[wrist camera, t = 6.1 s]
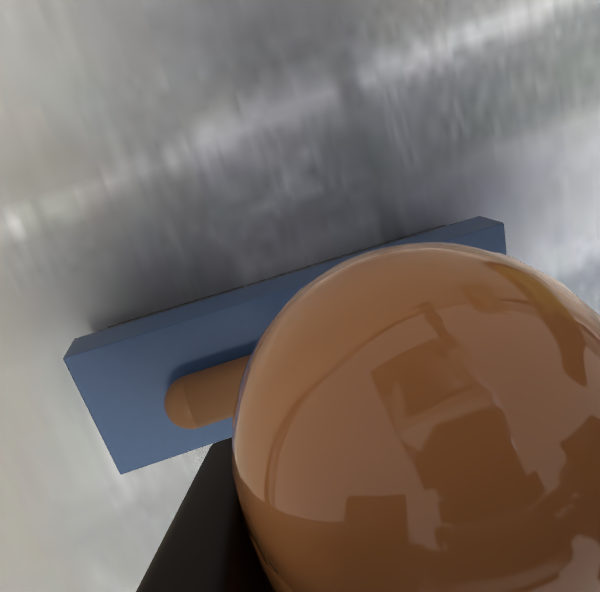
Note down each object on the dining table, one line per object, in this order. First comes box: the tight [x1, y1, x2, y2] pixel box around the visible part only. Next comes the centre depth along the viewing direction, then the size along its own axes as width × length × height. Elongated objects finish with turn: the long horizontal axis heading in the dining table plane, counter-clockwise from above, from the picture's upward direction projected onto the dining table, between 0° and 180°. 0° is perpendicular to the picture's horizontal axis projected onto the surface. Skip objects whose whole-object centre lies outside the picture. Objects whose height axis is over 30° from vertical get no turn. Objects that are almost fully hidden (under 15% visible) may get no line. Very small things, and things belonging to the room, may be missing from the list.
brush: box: [63, 216, 506, 474], centre depth 17 cm, size 16×5×5 cm, turn 104°
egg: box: [232, 242, 600, 592], centre depth 6 cm, size 5×6×5 cm
